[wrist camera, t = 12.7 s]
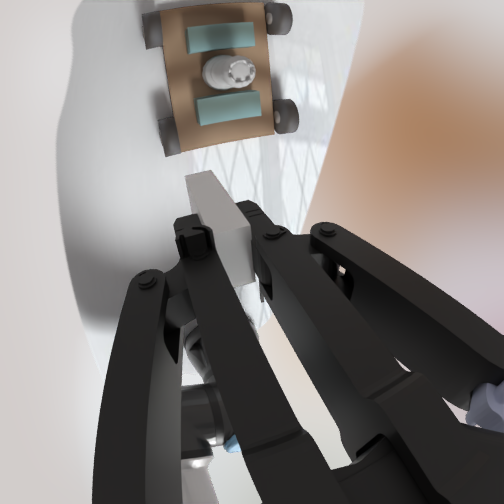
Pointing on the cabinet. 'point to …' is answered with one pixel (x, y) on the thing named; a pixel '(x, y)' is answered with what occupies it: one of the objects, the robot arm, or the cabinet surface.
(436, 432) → the robot arm
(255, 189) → the cabinet surface
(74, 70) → the cabinet surface
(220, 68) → the rook chess piece
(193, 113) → the chassis
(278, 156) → the cabinet surface
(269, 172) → the cabinet surface
